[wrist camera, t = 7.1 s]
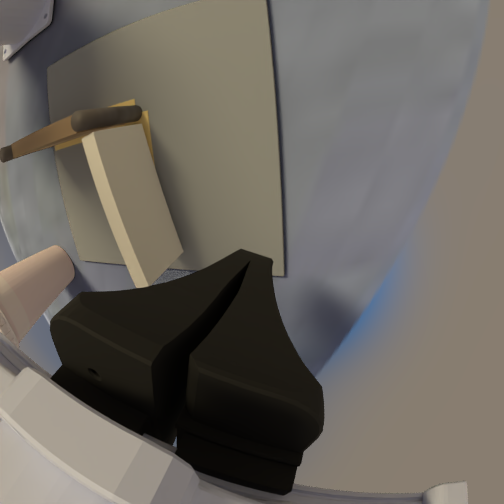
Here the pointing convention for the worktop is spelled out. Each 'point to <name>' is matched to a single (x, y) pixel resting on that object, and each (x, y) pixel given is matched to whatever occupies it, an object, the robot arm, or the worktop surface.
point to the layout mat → (183, 128)
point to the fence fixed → (72, 129)
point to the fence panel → (133, 201)
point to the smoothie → (32, 290)
